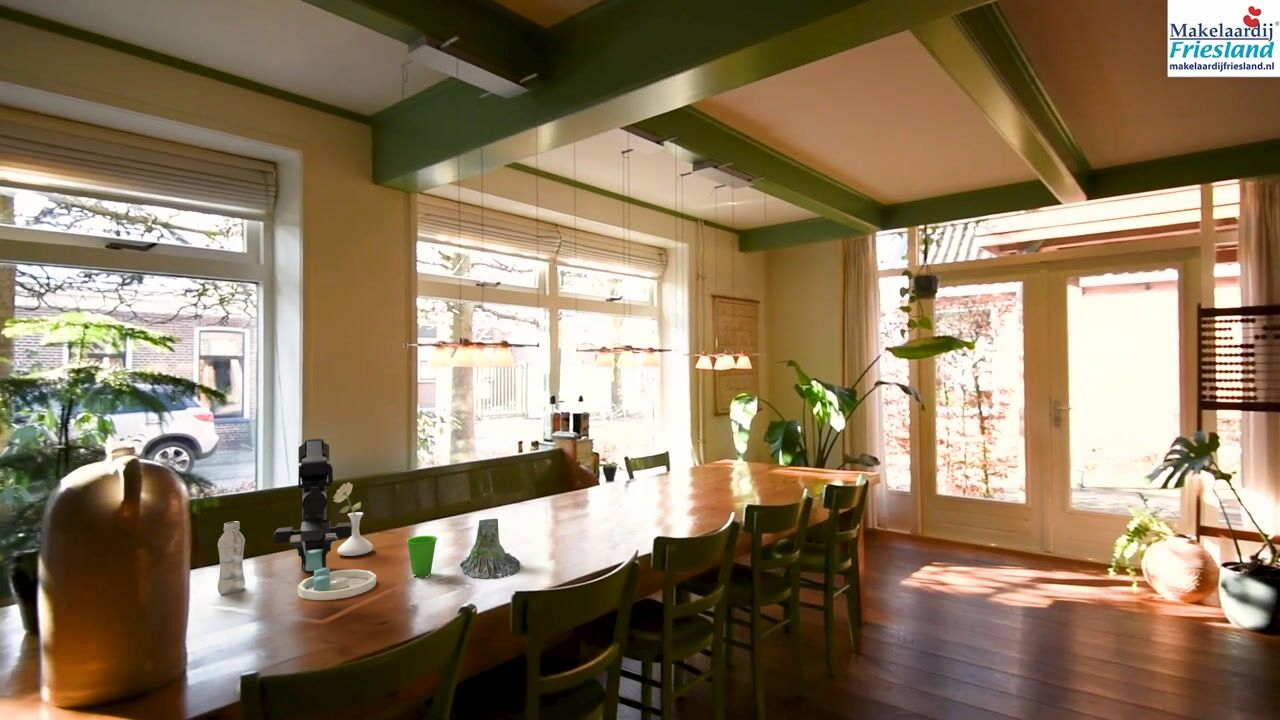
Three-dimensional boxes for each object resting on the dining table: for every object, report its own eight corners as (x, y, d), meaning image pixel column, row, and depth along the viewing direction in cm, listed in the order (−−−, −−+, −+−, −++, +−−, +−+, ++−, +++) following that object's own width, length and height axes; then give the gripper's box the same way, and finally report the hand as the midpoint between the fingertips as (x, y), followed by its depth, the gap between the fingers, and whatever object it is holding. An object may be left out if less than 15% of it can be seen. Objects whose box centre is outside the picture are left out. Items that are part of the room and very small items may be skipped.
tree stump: (461, 584, 188) (458, 522, 192) (459, 580, 206) (456, 523, 211) (524, 574, 194) (519, 514, 198) (516, 571, 212) (512, 516, 216)
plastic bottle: (250, 591, 181) (251, 521, 182) (228, 599, 175) (229, 526, 175) (234, 589, 183) (234, 519, 184) (211, 596, 177) (212, 524, 178)
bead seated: (310, 587, 182) (310, 571, 182) (321, 582, 186) (321, 567, 186) (321, 588, 181) (321, 572, 181) (332, 583, 184) (332, 568, 184)
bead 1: (304, 571, 169) (304, 554, 169) (306, 567, 172) (306, 550, 172) (321, 569, 170) (321, 553, 170) (322, 565, 174) (323, 549, 174)
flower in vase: (361, 547, 226) (362, 477, 227) (380, 552, 220) (380, 480, 220) (325, 556, 216) (326, 482, 216) (343, 562, 209) (344, 485, 210)
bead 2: (321, 591, 178) (321, 575, 178) (333, 592, 177) (333, 576, 177) (310, 595, 174) (310, 579, 175) (321, 597, 173) (321, 580, 173)
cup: (427, 580, 190) (427, 543, 190) (400, 579, 191) (400, 542, 192) (442, 571, 198) (442, 536, 199) (416, 570, 200) (416, 535, 200)
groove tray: (281, 599, 175) (281, 588, 175) (336, 576, 194) (336, 567, 194) (339, 607, 169) (339, 595, 169) (390, 583, 188) (390, 573, 188)
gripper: (269, 516, 160) (269, 578, 160) (350, 510, 167) (350, 569, 167) (276, 506, 171) (276, 565, 171) (352, 501, 178) (352, 557, 178)
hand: (314, 564), depth 171 cm, fingers closed on bead 1, 4 cm apart
